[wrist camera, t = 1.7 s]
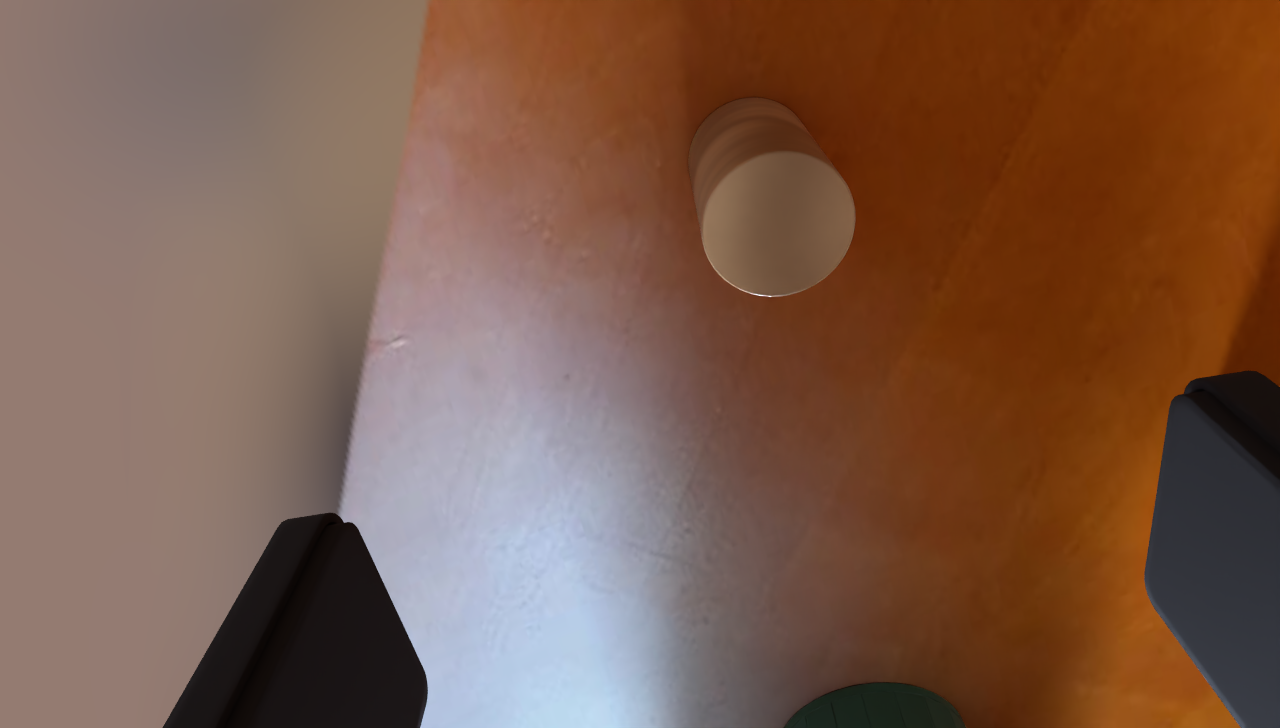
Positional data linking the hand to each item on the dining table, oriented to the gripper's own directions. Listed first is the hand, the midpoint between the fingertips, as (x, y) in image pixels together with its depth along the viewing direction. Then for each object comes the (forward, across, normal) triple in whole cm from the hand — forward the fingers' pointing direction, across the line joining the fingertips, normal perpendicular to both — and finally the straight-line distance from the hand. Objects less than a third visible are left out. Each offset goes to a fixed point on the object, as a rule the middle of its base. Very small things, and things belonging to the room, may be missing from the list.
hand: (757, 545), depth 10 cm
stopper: (+18, -2, +1) cm, 18 cm away
